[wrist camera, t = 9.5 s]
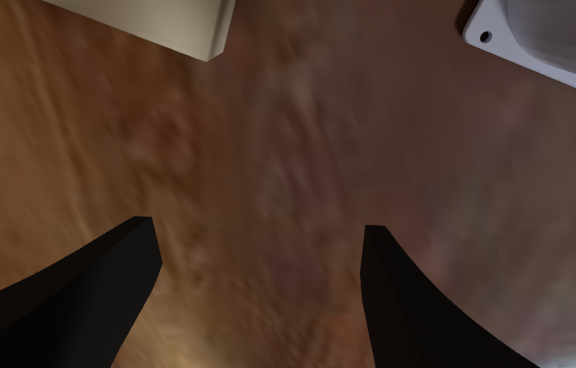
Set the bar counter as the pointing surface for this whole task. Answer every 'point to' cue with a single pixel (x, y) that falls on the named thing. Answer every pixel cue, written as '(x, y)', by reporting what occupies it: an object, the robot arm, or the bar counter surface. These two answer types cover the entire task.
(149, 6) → the birch block
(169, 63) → the bar counter surface
